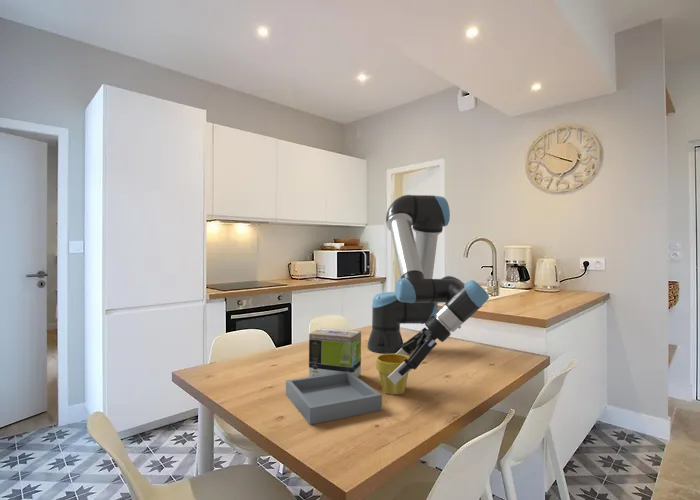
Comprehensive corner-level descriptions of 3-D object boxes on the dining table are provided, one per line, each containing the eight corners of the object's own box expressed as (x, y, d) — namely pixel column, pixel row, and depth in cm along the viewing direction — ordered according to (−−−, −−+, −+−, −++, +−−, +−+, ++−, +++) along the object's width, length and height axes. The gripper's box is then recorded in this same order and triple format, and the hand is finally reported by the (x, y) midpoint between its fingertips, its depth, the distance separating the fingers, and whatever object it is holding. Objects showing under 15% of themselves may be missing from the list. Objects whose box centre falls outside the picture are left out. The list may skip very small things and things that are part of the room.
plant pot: (373, 384, 117) (374, 353, 117) (406, 383, 118) (406, 352, 118) (378, 397, 106) (379, 363, 106) (414, 397, 107) (415, 363, 107)
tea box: (361, 374, 126) (362, 330, 125) (351, 384, 116) (352, 337, 116) (320, 368, 131) (320, 326, 130) (307, 378, 121) (308, 332, 121)
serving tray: (285, 394, 108) (286, 380, 108) (348, 384, 117) (348, 371, 117) (309, 424, 90) (310, 408, 90) (381, 409, 99) (381, 394, 99)
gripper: (460, 344, 98) (401, 398, 99) (444, 324, 123) (397, 368, 124) (440, 323, 98) (382, 377, 99) (428, 307, 123) (381, 351, 124)
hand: (390, 372), depth 112 cm, fingers open, 13 cm apart
